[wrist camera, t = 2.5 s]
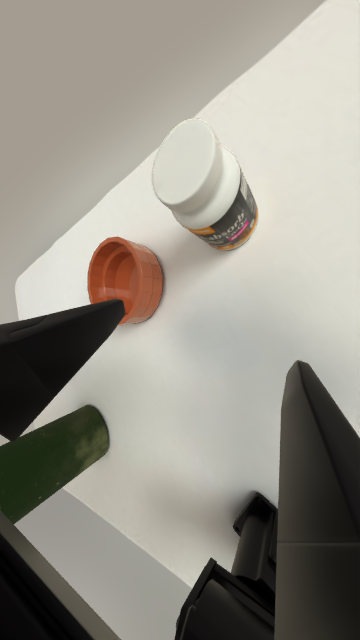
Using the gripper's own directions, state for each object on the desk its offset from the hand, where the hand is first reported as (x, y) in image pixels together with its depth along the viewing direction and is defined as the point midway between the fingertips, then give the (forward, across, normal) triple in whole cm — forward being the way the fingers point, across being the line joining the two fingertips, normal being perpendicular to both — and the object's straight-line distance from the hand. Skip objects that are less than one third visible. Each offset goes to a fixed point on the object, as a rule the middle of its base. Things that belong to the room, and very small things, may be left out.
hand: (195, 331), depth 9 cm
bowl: (+14, +14, +8) cm, 21 cm away
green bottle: (0, +19, +36) cm, 41 cm away
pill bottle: (+16, +2, -2) cm, 16 cm away
